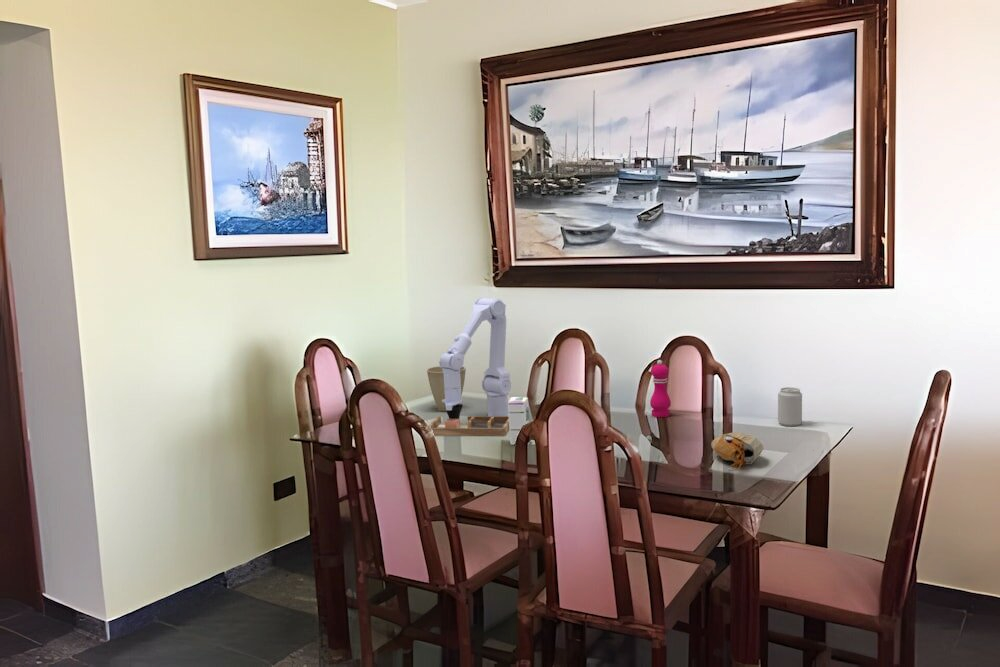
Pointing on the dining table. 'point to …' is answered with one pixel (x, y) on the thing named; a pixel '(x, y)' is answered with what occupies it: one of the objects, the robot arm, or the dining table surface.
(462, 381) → the plant pot
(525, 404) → the syrup box
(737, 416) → the dining table surface
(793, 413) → the can
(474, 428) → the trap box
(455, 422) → the coral block
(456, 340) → the robot arm
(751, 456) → the nautilus
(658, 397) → the pepper mill
